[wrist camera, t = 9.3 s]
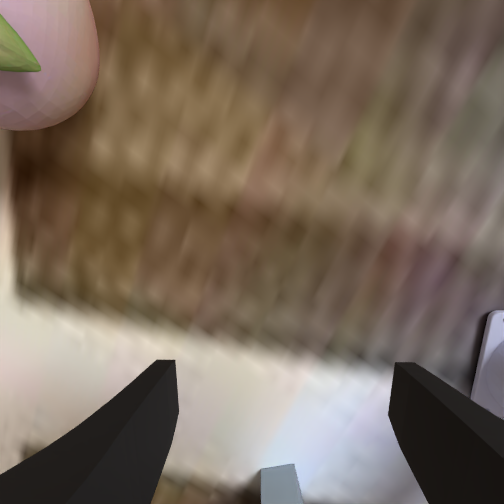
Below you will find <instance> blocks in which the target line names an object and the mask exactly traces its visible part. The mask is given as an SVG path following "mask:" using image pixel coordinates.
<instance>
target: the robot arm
mask: <svg viewBox="0 0 504 504" xmlns="http://www.w3.org/2000/svg"><path fill="white" fill-rule="evenodd" d="M503 319H504V310H497V311H493V312H491V313H490V314H489V315H488V318H487V323H486V327H485V332H484V337H483V342H482V346H481V351H480V356H479V360H478V365H477V370H476V374H475V379H474V384H473V389H472V393H471V398H470V399H469V398H468V397H466V396H465V395H463V394H462V393H460V392H459V391H457V390H456V389H454V388H453V387H451V386H450V385H448V384H447V383H445V382H444V381H442V380H441V379H439V378H438V377H436V376H435V375H433V374H432V373H430V372H429V371H427V370H426V369H424V368H422V367H421V366H419V365H417V364H416V363H412V362H395V367H394V374H393V381H392V389H391V396H390V404H389V411H388V416H389V419H390V422H391V425H392V427H393V430H394V433H395V436H396V438H397V441H398V443H399V446H400V448H401V450H402V452H403V454H404V456H405V458H406V460H407V462H408V464H409V466H410V468H411V470H412V472H413V474H414V476H415V478H416V480H417V482H418V484H419V486H420V488H421V490H422V492H423V494H424V495H425V497H426V499H427V501H428V503H429V504H504V420H502V419H501V418H504V321H503ZM178 414H179V405H178V391H177V378H176V364H175V360H156V361H155V362H154V363H152V364H151V365H150V366H149V367H148V368H147V369H146V370H145V371H143V372H142V373H141V374H140V375H139V376H138V377H137V378H136V379H134V380H133V381H132V382H131V383H130V384H129V385H128V386H126V387H125V388H124V389H123V390H122V391H121V392H119V393H118V394H117V395H116V396H115V397H114V398H112V399H111V400H110V401H109V402H107V403H106V404H105V405H104V406H102V407H101V408H100V409H99V410H97V411H96V412H95V413H93V414H92V415H91V416H90V417H88V418H87V419H86V420H85V421H83V422H82V423H81V424H79V425H78V426H76V427H75V428H74V429H72V430H71V431H69V432H68V433H67V434H65V435H64V436H62V437H61V438H59V439H58V440H56V441H55V442H53V443H52V444H50V445H49V446H47V447H46V448H44V449H43V450H41V451H39V452H38V453H36V454H34V455H33V456H31V457H29V458H28V459H26V460H24V461H23V462H21V463H19V464H18V465H16V466H14V467H13V468H11V469H9V470H7V471H6V472H4V473H2V474H1V475H0V504H151V501H152V498H153V495H154V492H155V490H156V487H157V484H158V481H159V478H160V476H161V473H162V470H163V467H164V464H165V461H166V459H167V456H168V453H169V450H170V447H171V444H172V440H173V436H174V432H175V428H176V423H177V419H178ZM499 417H500V418H499Z"/></svg>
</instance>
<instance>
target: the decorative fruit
mask: <svg viewBox="0 0 504 504" xmlns="http://www.w3.org/2000/svg"><path fill="white" fill-rule="evenodd" d="M98 74H99V44H98V37H97V30H96V25H95V21H94V17H93V12H92V9H91V6H90V2H89V0H0V128H1V129H7V130H17V131H25V130H39V129H43V128H46V127H50V126H54V125H56V124H58V123H60V122H63V121H65V120H66V119H68V118H70V117H71V116H73V115H74V114H75V113H76V112H78V111H79V110H80V109H81V108H82V107H83V106H84V104H85V103H86V102H87V101H88V99H89V97H90V96H91V94H92V92H93V90H94V88H95V85H96V83H97V78H98Z"/></svg>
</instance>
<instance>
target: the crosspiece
mask: <svg viewBox="0 0 504 504" xmlns="http://www.w3.org/2000/svg"><path fill="white" fill-rule="evenodd" d="M261 504H304V502H303V498H302V494H301V490H300V486H299V482H298V478H297V474H296V470H295V466H294V464H289V465H283V466H277V467H271V468H265V469H261Z"/></svg>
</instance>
